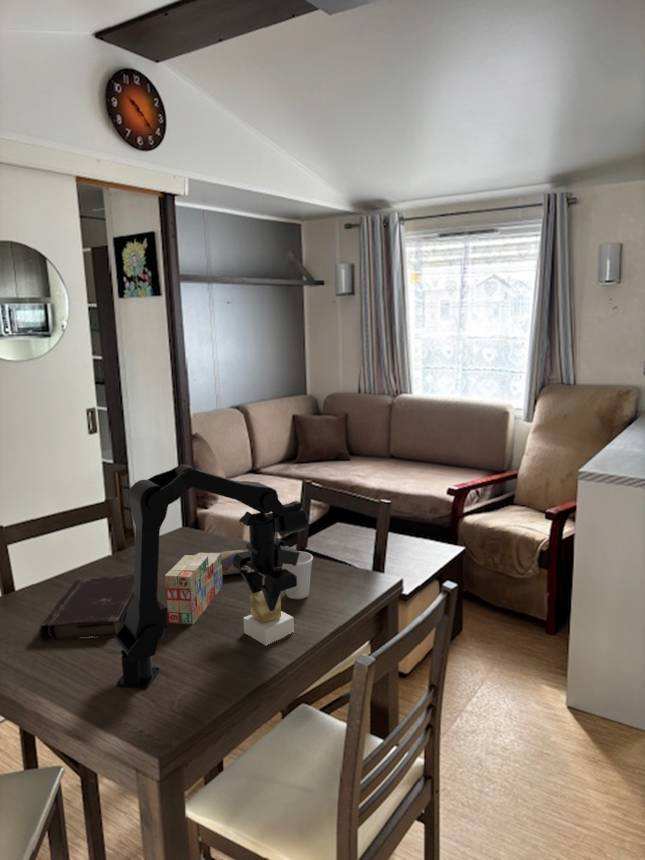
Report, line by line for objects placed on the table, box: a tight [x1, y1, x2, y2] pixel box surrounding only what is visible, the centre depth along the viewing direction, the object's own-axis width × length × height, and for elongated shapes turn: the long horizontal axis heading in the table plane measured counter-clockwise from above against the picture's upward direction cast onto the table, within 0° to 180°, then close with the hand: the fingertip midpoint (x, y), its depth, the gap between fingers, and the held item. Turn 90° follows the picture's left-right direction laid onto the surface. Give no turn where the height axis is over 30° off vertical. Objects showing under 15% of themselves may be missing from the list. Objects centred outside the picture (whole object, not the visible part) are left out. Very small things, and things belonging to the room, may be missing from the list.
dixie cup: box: [281, 551, 314, 600], centre depth 162 cm, size 8×8×10 cm
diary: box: [38, 573, 134, 642], centre depth 155 cm, size 19×25×5 cm
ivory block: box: [243, 610, 295, 646], centre depth 144 cm, size 8×8×4 cm
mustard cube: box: [249, 591, 282, 623], centre depth 143 cm, size 5×5×5 cm
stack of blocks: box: [164, 552, 224, 626], centre depth 158 cm, size 21×6×12 cm, turn 170°
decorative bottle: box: [192, 548, 250, 576], centre depth 177 cm, size 26×8×7 cm, turn 104°
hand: (265, 605), depth 143 cm, fingers open, 6 cm apart
